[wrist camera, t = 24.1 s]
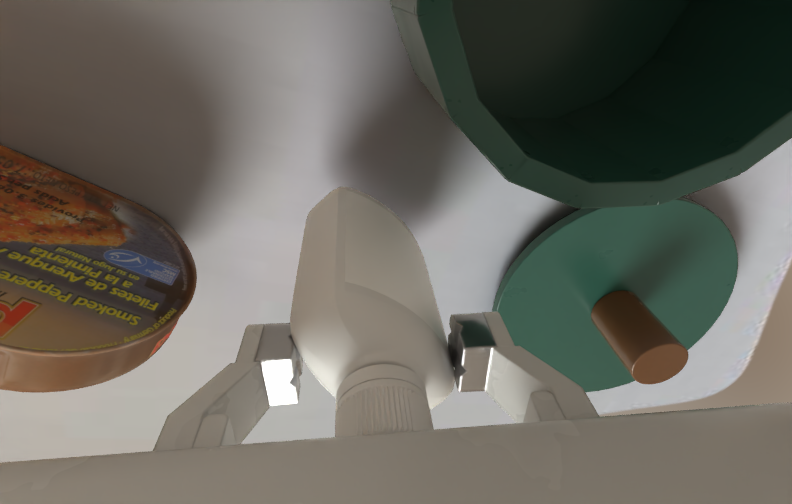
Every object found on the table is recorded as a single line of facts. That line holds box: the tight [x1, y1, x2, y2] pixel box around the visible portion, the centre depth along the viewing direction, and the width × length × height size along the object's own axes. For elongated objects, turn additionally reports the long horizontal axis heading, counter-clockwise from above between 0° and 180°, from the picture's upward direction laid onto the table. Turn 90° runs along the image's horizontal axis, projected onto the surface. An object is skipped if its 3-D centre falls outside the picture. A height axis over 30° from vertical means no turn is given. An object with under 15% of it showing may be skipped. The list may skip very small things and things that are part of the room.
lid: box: [492, 197, 738, 392], centre depth 22 cm, size 13×13×5 cm
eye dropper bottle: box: [290, 187, 455, 437], centre depth 14 cm, size 4×6×12 cm
